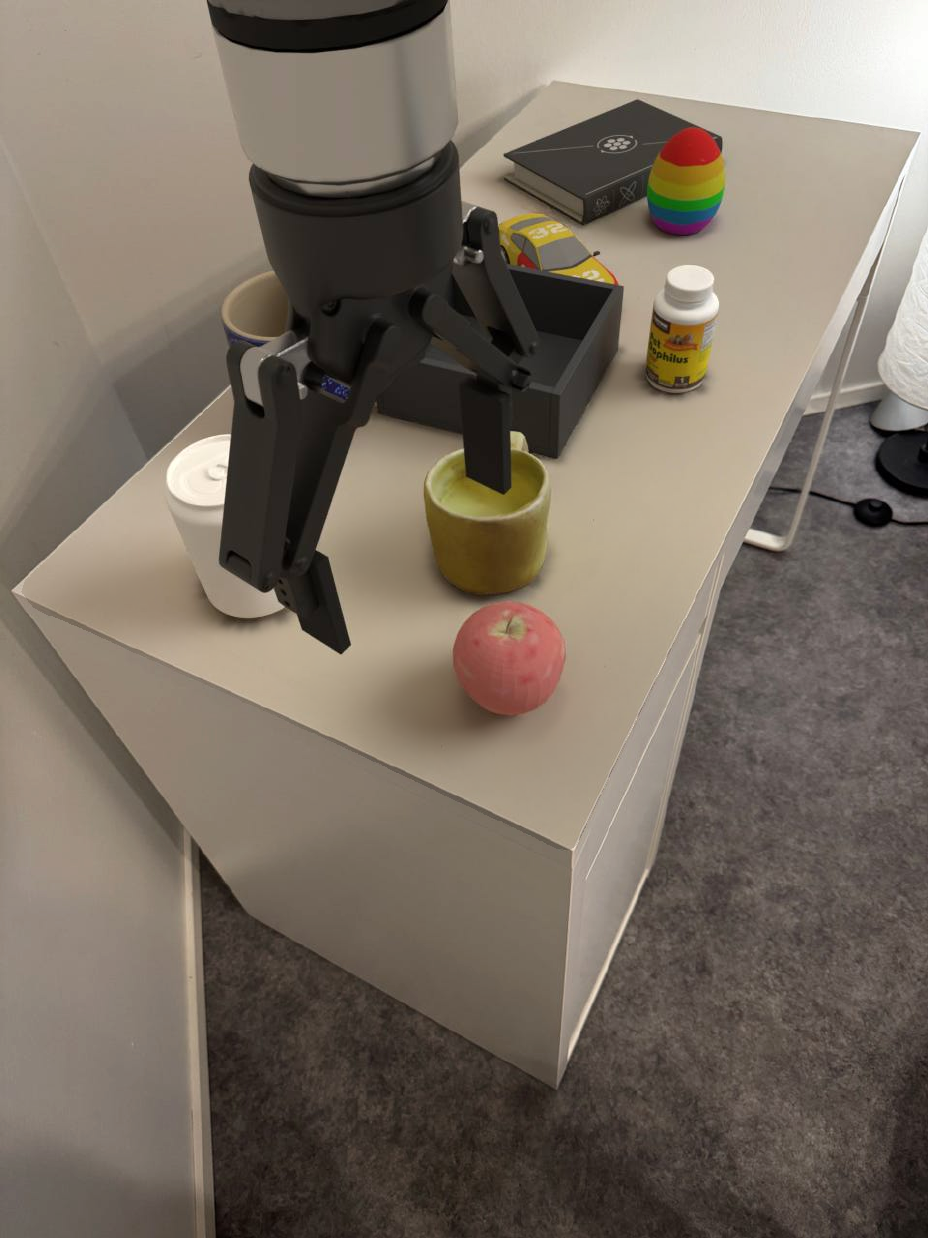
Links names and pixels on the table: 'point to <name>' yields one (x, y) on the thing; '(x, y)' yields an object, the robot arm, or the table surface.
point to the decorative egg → (686, 182)
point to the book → (597, 160)
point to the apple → (509, 657)
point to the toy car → (549, 248)
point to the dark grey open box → (525, 360)
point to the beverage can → (210, 525)
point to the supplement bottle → (682, 330)
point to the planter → (262, 317)
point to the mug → (488, 522)
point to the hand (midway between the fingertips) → (412, 555)
